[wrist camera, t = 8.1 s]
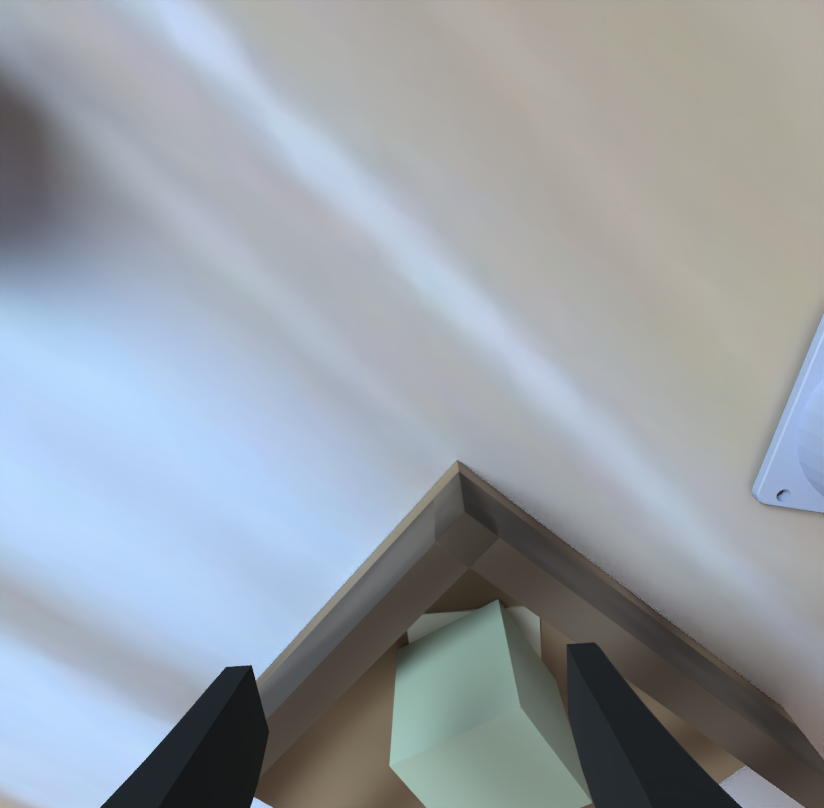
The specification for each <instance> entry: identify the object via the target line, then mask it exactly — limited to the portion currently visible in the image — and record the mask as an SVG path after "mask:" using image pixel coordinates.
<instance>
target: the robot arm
mask: <svg viewBox="0 0 824 808" xmlns="http://www.w3.org/2000/svg"><path fill="white" fill-rule="evenodd" d="M781 490H783V493H782V494H781V495H779V496H777V494H778V492H779V491H781ZM752 494H753V496H754V497H755V498H756V499H757V500H758V501H759V502H761V503H763V504H766V505H773V506H780V507H786V508H793V509H800V510H806V511H813V512H819V513H824V314H823V317H822V319H821V321H820V324H819V326H818V329H817V331H816V334H815V336H814V339H813V341H812V344H811V346H810V348H809V351H808V353H807V356H806V358H805V361H804V363H803V366H802V368H801V371H800V373H799V375H798V378H797V380H796V383H795V385H794V388H793V390H792V393H791V395H790V398H789V400H788V402H787V405H786V407H785V410H784V412H783V415H782V417H781V420H780V422H779V425H778V427H777V429H776V432H775V434H774V437H773V439H772V442H771V444H770V447H769V449H768V452H767V454H766V456H765V459H764V461H763V464H762V466H761V469H760V471H759V474H758V476H757V479H756V481H755V483H754V486H753V489H752ZM566 646H567V694H568V717H569V721H570V725H571V729H572V733H573V737H574V741H575V745H576V749H577V753H578V757H579V760H580V764H581V768H582V771H583V774H584V777H585V779H586V782H587V785H588V788H589V791H590V794H591V797H592V800H593V802H594V805H595V808H742V807H741V806H740V805H739V804H738V803H737V802H736V801H735V800H734V799H733V798H732V797H731V796H730V795H729V794H728V793H726V792H725V791H724V790H723V789H722V788H721V787H720V786H719V785H718V784H717V783H716V782H715V780H714V779H713V778H712V777H711V776H710V775H709V774H708V773H707V772H706V771H705V770H704V769H703V768H702V767H701V766H700V765H699V764H698V763H697V762H696V761H695V760H694V759H693V758H692V757H691V756H690V755H689V753H688V752H687V751H686V750H685V749H684V748H683V747H682V746H681V745H680V744H679V743H678V742H677V740H676V739H675V738H674V737H673V736H672V735H671V734H670V733H669V731H668V730H667V729H666V728H665V727H664V726H663V725H662V724H661V722H660V721H659V720H658V719H657V718H656V717H655V716H654V714H653V713H652V712H651V711H650V710H649V709H648V707H647V706H646V705H645V704H644V703H643V702H642V700H641V699H640V698H639V697H638V696H637V694H636V693H635V692H634V691H633V689H632V688H631V687H630V686H629V684H628V683H627V682H626V681H625V680H624V678H623V677H622V676H621V674H620V673H619V672H618V671H617V669H616V668H615V667H614V665H613V664H612V663H611V662H610V660H609V659H608V658H607V656H606V655H605V653H604V652H603V651H602V649H601V648H600V647H599V646H598V645H597V644H596V643H595V642H591V643H576V644H566ZM268 735H269V729H268V725H267V722H266V718H265V714H264V710H263V707H262V703H261V699H260V695H259V691H258V688H257V684H256V680H255V676H254V673H253V669H252V665H250V666H235V667H226V668H225V669H224V670H223V671H222V672H221V674H220V675H219V676H218V677H217V678H216V679H215V680H214V682H213V683H212V684H211V685H210V686H209V687H208V688H207V690H206V691H205V692H204V693H203V694H202V695H201V697H200V698H199V699H198V700H197V701H196V702H195V704H194V705H193V706H192V707H191V708H190V709H189V711H188V712H187V713H186V714H185V715H184V716H183V718H182V719H181V720H180V721H179V722H178V723H177V725H176V726H175V727H174V728H173V729H172V730H171V731H170V733H169V734H168V735H167V736H166V737H165V738H164V739H163V740H162V742H161V743H160V744H159V745H158V746H157V747H156V748H155V749H154V751H153V752H152V753H151V754H150V755H149V756H148V757H147V758H146V760H145V761H144V762H143V763H142V764H141V765H140V766H139V767H138V768H137V769H136V770H135V771H134V772H133V774H132V775H131V776H130V777H129V778H128V779H127V780H126V781H125V782H124V783H123V784H122V785H121V786H120V787H119V788H118V789H117V791H116V792H115V793H114V794H113V795H112V796H111V797H110V798H109V799H108V800H107V801H106V802H105V803H104V804H103V805H102V806H101V807H100V808H250V807H251V804H252V800H253V797H254V794H255V791H256V788H257V785H258V781H259V776H260V772H261V768H262V764H263V759H264V754H265V750H266V745H267V740H268Z"/></svg>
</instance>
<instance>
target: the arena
mask: <svg viewBox="0 0 824 808" xmlns="http://www.w3.org/2000/svg"><path fill="white" fill-rule="evenodd" d="M497 599H499V601H500V602H501V604H502V605H503V606H504V608H505V609H506V611H507V612H508V613H509V615H510V616H511V618H512V619H513V620H514V622H515V623H516V625H517V626H518V627H519V629H520V630H521V632H522V633H523V634H524V636H525V637H526V639H527V640H528V641H529V643H530V644H531V646H532V647H533V649H534V650H535V651H536V653H537V654H538V656H539V657H540V658H541V660H542V661H543V663H544V664H545V665H546V667H547V668H548V670H549V671H550V672H551V674H552V675H553V677H554V678H555V679H556V682H557V686H558V689H559V692H560V696H561V699H562V702H563V706H564V709H565V712H566V716H567V719H568V722H569V726H570V729H571V725H570V721H569V717H568V694H567V646H566V644H576V643H591V642H595V643H596V644H597V645H598V646H599V647H600V648H601V649H602V651H603V652H604V653H605V655H606V656H607V658H608V659H609V660H610V662H611V663H612V664H613V665H614V667H615V668H616V669H617V671H618V672H619V673H620V674H621V676H622V677H623V678H624V680H625V681H626V682H627V683H628V684H629V686H630V687H631V688H632V689H633V691H634V692H635V693H636V694H637V696H638V697H639V698H640V699H641V700H642V702H643V703H644V704H645V705H646V706H647V707H648V709H649V710H650V711H651V712H652V713H653V714H654V716H655V717H656V718H657V719H658V720H659V721H660V722H661V724H662V725H663V726H664V727H665V728H666V729H667V730H668V731H669V733H670V734H671V735H672V736H673V737H674V738H675V739H676V740H677V742H678V743H679V744H680V745H681V746H682V747H683V748H684V749H685V750H686V751H687V752H688V753H689V755H690V756H691V757H692V758H693V759H694V760H695V761H696V762H697V763H698V764H699V765H700V766H701V767H702V768H703V769H704V770H705V771H706V772H707V773H708V774H709V775H710V776H711V777H712V778H713V779H714V780H715V782H716V783H717V784H719V783H720V782H721V781H723V780H724V779H726V778H727V777H729V776H730V775H732V774H733V773H734V772H736V771H737V770H739V769H740V768H742V767H743V766H745V765H747V766H748V767H749V768H751V769H752V770H754V771H755V772H756V773H758V774H759V775H761V776H762V777H763V778H765V779H766V780H768V781H769V782H770V783H772V784H773V785H775V786H776V787H777V788H779V789H780V790H782V791H783V792H784V793H786V794H787V795H789V796H790V797H791V798H793V799H794V800H796V801H797V802H798V803H800V804H801V805H803V806H804V807H805V808H824V760H823V759H822V757H821V756H820V755H819V753H818V752H817V751H816V750H815V748H814V747H813V746H812V744H811V743H810V742H809V741H808V739H807V738H806V737H805V735H804V734H803V733H802V731H801V730H800V729H799V728H798V726H797V725H796V724H795V722H794V721H793V720H792V719H791V717H790V716H789V715H788V713H787V712H786V711H785V710H784V708H783V707H781V706H780V705H779V704H777V703H776V702H775V701H773V700H772V699H771V698H769V697H768V696H767V695H765V694H764V693H763V692H762V691H760V690H759V689H758V688H756V687H755V686H754V685H752V684H751V683H750V682H748V681H747V680H746V679H744V678H743V677H742V676H740V675H739V674H738V673H737V672H735V671H734V670H733V669H731V668H730V667H729V666H727V665H726V664H725V663H723V662H722V661H721V660H719V659H718V658H717V657H715V656H714V655H713V654H712V653H710V652H709V651H708V650H706V649H705V648H704V647H702V646H701V645H700V644H698V643H697V642H696V641H694V640H693V639H692V638H690V637H689V636H688V635H686V634H685V633H684V632H683V631H681V630H680V629H679V628H677V627H676V626H675V625H673V624H672V623H671V622H669V621H668V620H667V619H665V618H664V617H663V616H661V615H660V614H659V613H658V612H656V611H655V610H654V609H652V608H651V607H650V606H648V605H647V604H646V603H644V602H643V601H642V600H640V599H639V598H638V597H636V596H635V595H634V594H633V593H631V592H630V591H629V590H627V589H626V588H625V587H623V586H622V585H621V584H619V583H618V582H617V581H615V580H614V579H613V578H611V577H610V576H609V575H608V574H606V573H605V572H604V571H602V570H601V569H600V568H598V567H597V566H596V565H594V564H593V563H592V562H590V561H589V560H588V559H586V558H585V557H584V556H582V555H581V554H580V553H579V552H577V551H576V550H575V549H573V548H572V547H571V546H569V545H568V544H567V543H565V542H564V541H563V540H561V539H560V538H559V537H557V536H556V535H555V534H554V533H552V532H551V531H550V530H548V529H547V528H546V527H544V526H543V525H542V524H540V523H539V522H538V521H536V520H535V519H534V518H532V517H531V516H530V515H529V514H527V513H526V512H525V511H523V510H522V509H521V508H519V507H518V506H517V505H515V504H514V503H513V502H511V501H510V500H509V499H507V498H506V497H505V496H504V495H502V494H501V493H500V492H498V491H497V490H496V489H494V488H493V487H492V486H490V485H489V484H488V483H486V482H485V481H484V480H482V479H481V478H480V477H478V476H477V475H476V474H475V473H473V472H472V471H471V470H469V469H468V468H467V467H465V466H464V465H463V464H461V463H460V462H459V461H456V462H455V463H454V464H453V465H452V467H451V468H450V469H449V470H448V471H447V472H446V473H445V474H444V475H443V476H442V477H441V479H440V480H439V481H438V482H437V483H436V484H435V485H434V486H433V487H432V488H431V490H430V491H429V492H428V493H427V494H426V495H425V496H424V497H423V498H422V499H421V501H420V502H419V503H418V504H417V505H416V506H415V507H414V508H413V509H412V510H411V511H410V513H409V514H408V515H407V516H406V517H405V518H404V519H403V520H402V521H401V522H400V524H399V525H398V526H397V527H396V528H395V529H394V530H393V531H392V532H391V533H390V534H389V536H388V537H387V538H386V539H385V540H384V541H383V542H382V543H381V544H380V545H379V547H378V548H377V549H376V550H375V551H374V552H373V553H372V554H371V555H370V556H369V558H368V559H367V560H366V561H365V562H364V563H363V564H362V565H361V566H360V567H359V568H358V570H357V571H356V572H355V573H354V574H353V575H352V576H351V577H350V578H349V579H348V581H347V582H346V583H345V584H344V585H343V586H342V587H341V588H340V589H339V590H338V592H337V593H336V594H335V595H334V596H333V597H332V598H331V599H330V600H329V601H328V602H327V604H326V605H325V606H324V607H323V608H322V609H321V610H320V611H319V612H318V613H317V615H316V616H315V617H314V618H313V619H312V620H311V621H310V622H309V623H308V624H307V626H306V627H305V628H304V629H303V630H302V631H301V632H300V633H299V634H298V635H297V636H296V638H295V639H294V640H293V641H292V642H291V643H290V644H289V645H288V646H287V647H286V649H285V650H284V651H283V652H282V653H281V654H280V655H279V656H278V657H277V658H276V659H275V661H274V662H273V663H272V664H271V665H270V666H269V667H268V668H267V669H266V670H265V672H264V673H263V674H262V675H261V676H260V677H259V678H258V679H257V680H256V684H257V688H258V691H259V695H260V699H261V703H262V707H263V710H264V714H265V718H266V722H267V725H268V729H269V735H268V740H267V745H266V750H265V754H264V759H263V764H262V768H261V772H260V776H259V781H258V785H257V788H256V791H255V794H254V797H255V798H257V799H259V800H261V801H262V802H264V803H266V804H268V805H270V806H271V807H273V808H426V807H425V806H424V804H423V803H422V802H421V801H420V800H419V799H418V798H417V797H416V795H415V794H414V793H413V792H412V791H411V790H410V789H409V788H408V787H407V785H406V784H405V783H404V782H403V781H402V780H401V779H400V778H399V776H398V775H397V774H396V773H395V772H394V771H393V770H392V769H391V767H390V766H389V763H390V749H391V735H392V721H393V707H394V693H395V679H396V665H397V651H398V649H400V648H402V647H404V646H406V645H408V644H410V643H412V642H414V641H416V640H418V639H420V638H422V637H424V636H426V635H428V634H430V633H432V632H434V631H435V630H437V629H439V628H441V627H443V626H445V625H447V624H449V623H451V622H453V621H455V620H457V619H459V618H461V617H463V616H465V615H467V614H469V613H471V612H473V611H475V610H477V609H479V608H481V607H483V606H485V605H487V604H489V603H491V602H493V601H495V600H497ZM571 732H572V729H571ZM572 736H573V733H572ZM573 739H574V737H573ZM574 743H575V741H574ZM575 746H576V745H575ZM586 783H587V782H586ZM587 786H588V785H587ZM588 789H589V788H588ZM589 793H590V791H589ZM590 796H591V794H590ZM591 799H592V797H591ZM581 808H595V805H594V802H593V800H592V803H591V804H589V805H586V806H584V807H581Z"/></svg>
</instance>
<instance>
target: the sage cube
mask: <svg viewBox="0 0 824 808" xmlns="http://www.w3.org/2000/svg"><path fill="white" fill-rule="evenodd" d="M389 766H390V767H391V769H392V770H393V771H394V772H395V773H396V774H397V775H398V776H399V778H400V779H401V780H402V781H403V782H404V783H405V784H406V785H407V787H408V788H409V789H410V790H411V791H412V792H413V793H414V794H415V795H416V797H417V798H418V799H419V800H420V801H421V802H422V803H423V804H424V806H425V807H426V808H581V807H584V806H586V805H589V804H591V803H592V799H591V796H590V793H589V789H588V786H587V783H586V779H585V777H584V774H583V771H582V768H581V764H580V760H579V757H578V753H577V749H576V746H575V743H574V739H573V736H572V732H571V729H570V726H569V722H568V719H567V716H566V712H565V709H564V706H563V702H562V699H561V696H560V692H559V689H558V686H557V682H556V679H555V678H554V677H553V675H552V674H551V672H550V671H549V670H548V668H547V667H546V665H545V664H544V663H543V661H542V660H541V658H540V657H539V656H538V654H537V653H536V651H535V650H534V649H533V647H532V646H531V644H530V643H529V641H528V640H527V639H526V637H525V636H524V634H523V633H522V632H521V630H520V629H519V627H518V626H517V625H516V623H515V622H514V620H513V619H512V618H511V616H510V615H509V613H508V612H507V611H506V609H505V608H504V606H503V605H502V604H501V602H500V601H499V599H497V600H495V601H493V602H491V603H489V604H487V605H485V606H483V607H481V608H479V609H477V610H475V611H473V612H471V613H469V614H467V615H465V616H463V617H461V618H459V619H457V620H455V621H453V622H451V623H449V624H447V625H445V626H443V627H441V628H439V629H437V630H435V631H434V632H432V633H430V634H428V635H426V636H424V637H422V638H420V639H418V640H416V641H414V642H412V643H410V644H408V645H406V646H404V647H402V648H400V649H398V651H397V665H396V679H395V693H394V707H393V721H392V735H391V749H390V763H389Z"/></svg>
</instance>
